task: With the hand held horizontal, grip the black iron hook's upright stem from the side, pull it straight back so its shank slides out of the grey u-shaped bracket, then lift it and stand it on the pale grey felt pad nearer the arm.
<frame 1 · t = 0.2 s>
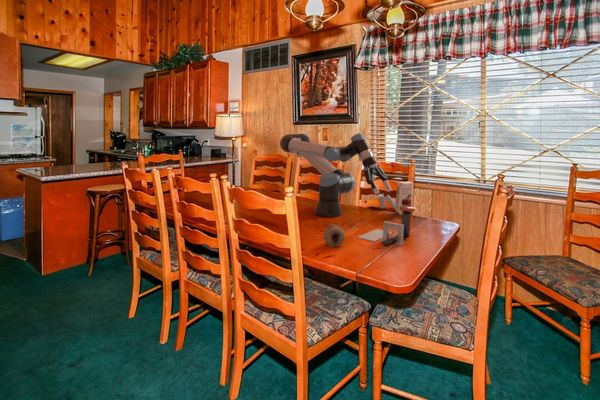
hand: (383, 192, 211), 15 cm above the table, tool tilted 35°, fingers open, 13 cm apart
grey u-shaped bracket: (392, 242, 172), on the table
wall hook: (387, 208, 240), on the table
juice carton: (403, 213, 227), on the table
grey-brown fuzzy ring: (335, 245, 167), on the table
hook: (405, 236, 182), on the table
pad: (375, 235, 182), on the table
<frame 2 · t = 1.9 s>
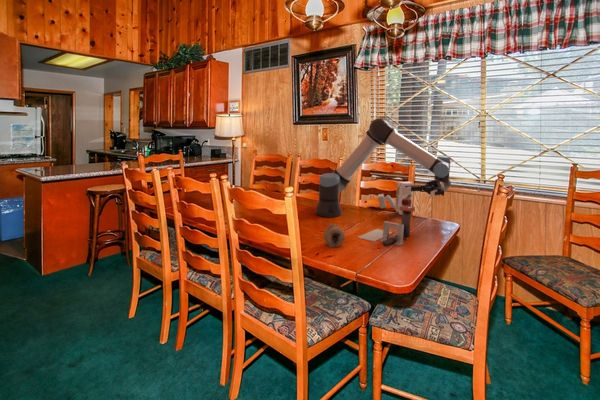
hand: (417, 192, 186), 20 cm above the table, tool horizontal, fingers open, 13 cm apart
nothing on the table moved.
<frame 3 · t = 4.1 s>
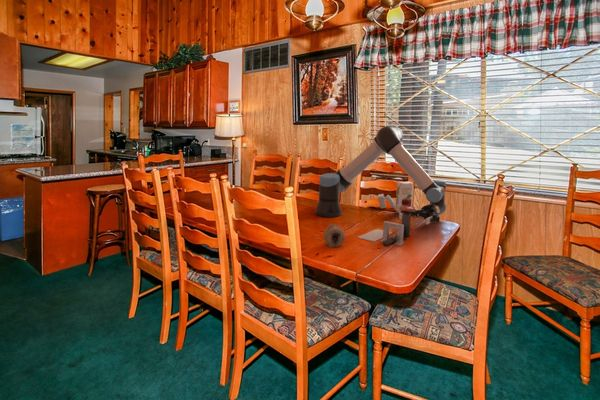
hand: (412, 219, 185), 7 cm above the table, tool horizontal, fingers open, 13 cm apart
nothing on the table moved.
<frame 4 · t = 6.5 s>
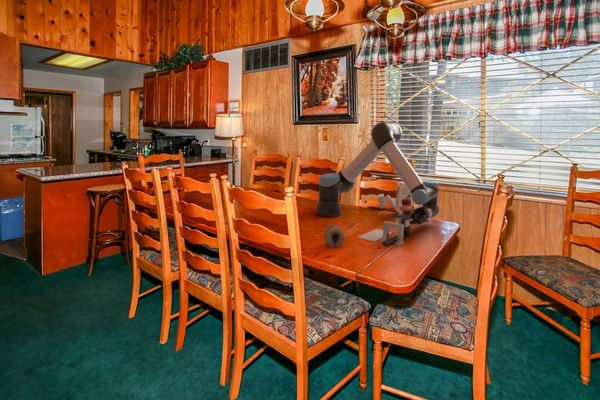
hand: (401, 223, 176), 7 cm above the table, tool horizontal, fingers closed on hook, 4 cm apart
hook: (405, 236, 182), on the table, touching gripper
everything else where it was.
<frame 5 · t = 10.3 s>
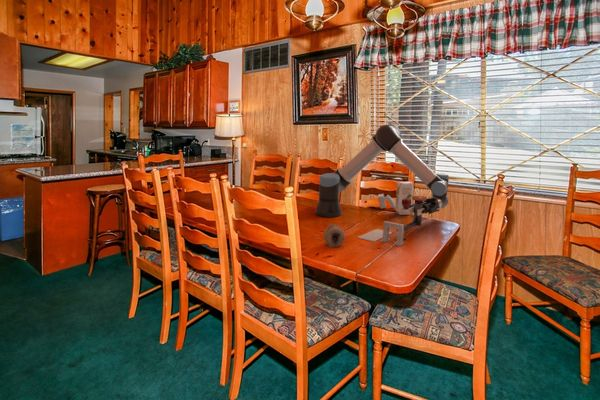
hand: (413, 212, 185), 11 cm above the table, tool horizontal, fingers closed on hook, 4 cm apart
hook: (416, 224, 191), point 3 cm above the table, touching gripper
everything else where it was.
when the fingers open (9 cm above the table, at t = 14.1 s): hook drops 1 cm, resting on pad.
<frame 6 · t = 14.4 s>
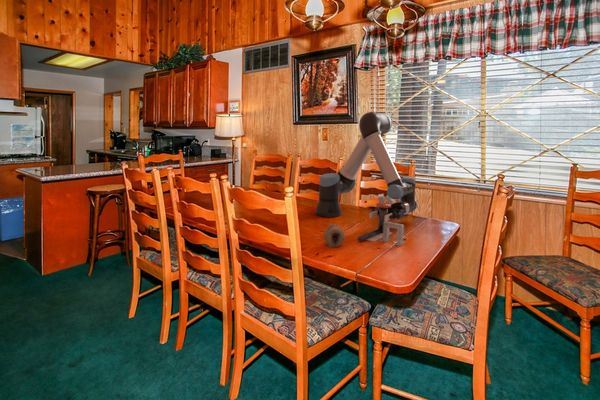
hand: (377, 217, 181), 9 cm above the table, tool horizontal, fingers open, 7 cm apart
hook: (381, 231, 187), resting on pad
everything else where it was.
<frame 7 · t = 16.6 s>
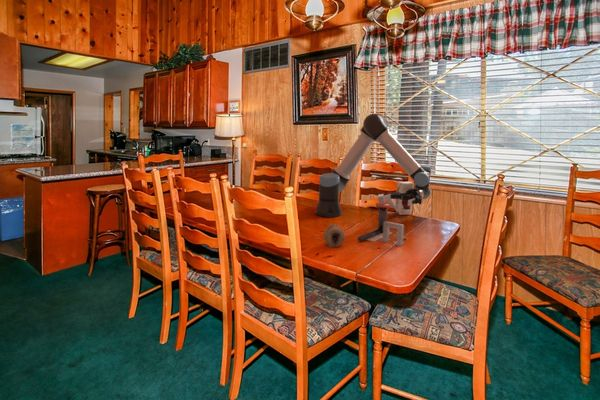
hand: (395, 200, 192), 15 cm above the table, tool horizontal, fingers open, 13 cm apart
nothing on the table moved.
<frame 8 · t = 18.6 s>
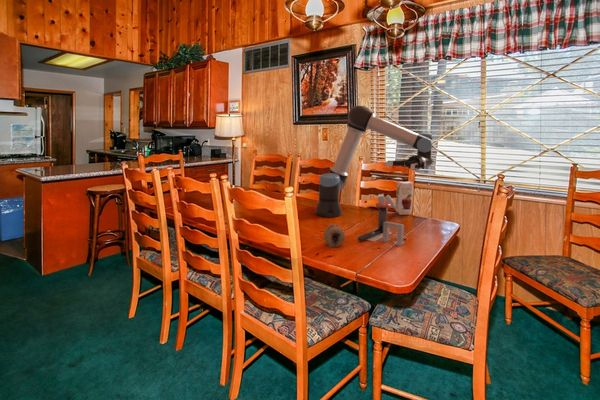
hand: (398, 165, 190), 32 cm above the table, tool horizontal, fingers open, 13 cm apart
nothing on the table moved.
at the end: hook inside the target area (5.6 cm from its centre), on the table; hook tilted 0°; hook touching pad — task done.
